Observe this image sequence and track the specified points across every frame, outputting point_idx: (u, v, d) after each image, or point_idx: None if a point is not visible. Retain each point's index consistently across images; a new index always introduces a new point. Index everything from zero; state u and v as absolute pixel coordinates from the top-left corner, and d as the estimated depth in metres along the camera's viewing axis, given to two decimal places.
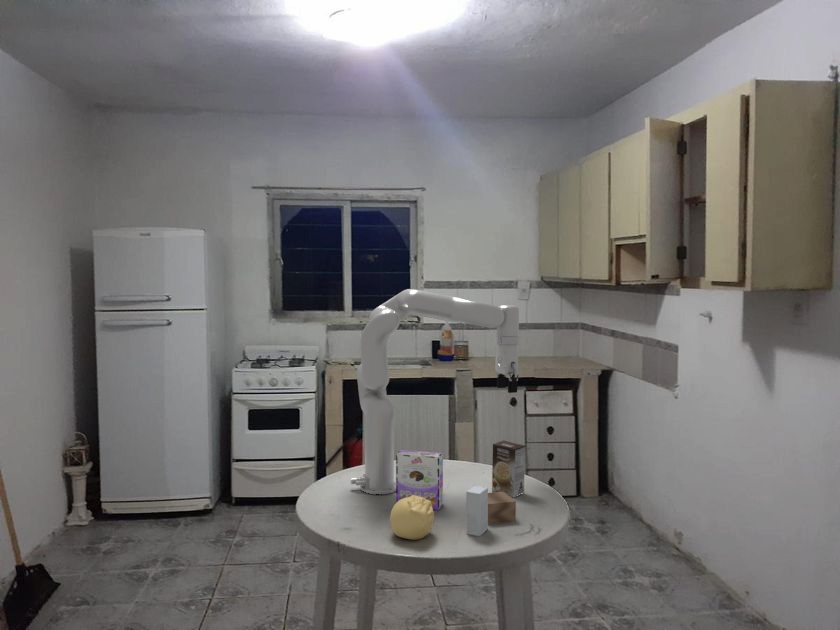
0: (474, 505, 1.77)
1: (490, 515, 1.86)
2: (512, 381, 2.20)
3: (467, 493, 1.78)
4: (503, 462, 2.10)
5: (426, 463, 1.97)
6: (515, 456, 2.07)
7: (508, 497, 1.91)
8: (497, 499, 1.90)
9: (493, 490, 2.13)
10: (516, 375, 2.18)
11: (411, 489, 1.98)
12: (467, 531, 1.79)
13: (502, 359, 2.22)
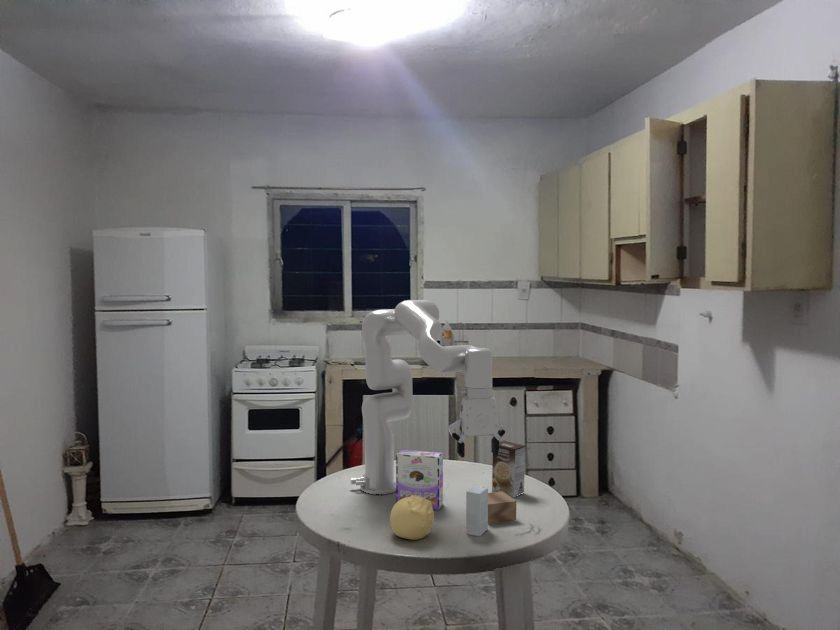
0: (474, 505, 1.77)
1: (491, 515, 1.86)
2: None
3: (467, 493, 1.78)
4: (503, 462, 2.10)
5: (426, 463, 1.97)
6: (515, 456, 2.07)
7: (508, 497, 1.92)
8: (497, 499, 1.90)
9: (493, 490, 2.13)
10: None
11: (411, 489, 1.98)
12: (467, 531, 1.79)
13: (489, 416, 1.76)
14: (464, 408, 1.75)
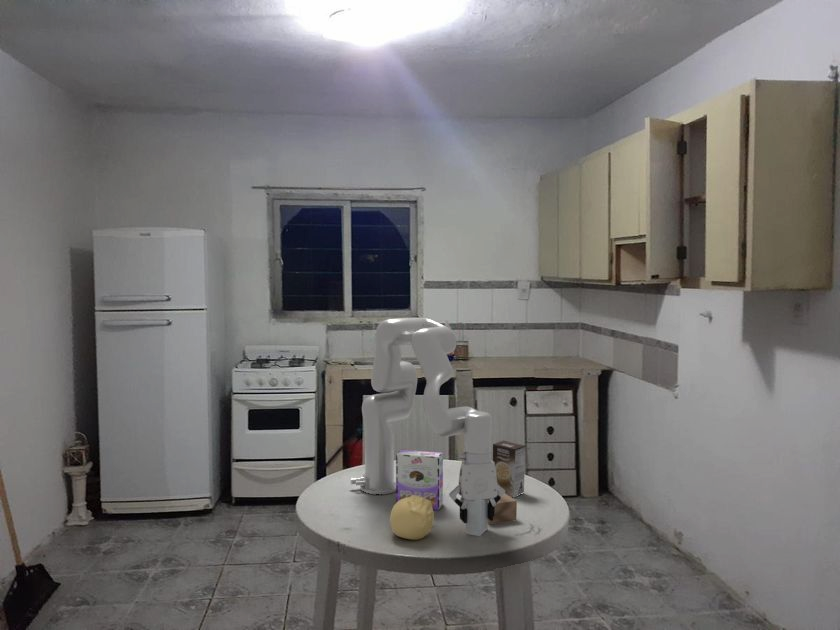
0: (474, 505, 1.77)
1: None
2: None
3: None
4: (503, 462, 2.10)
5: (426, 463, 1.97)
6: (515, 456, 2.07)
7: (508, 496, 1.92)
8: None
9: None
10: None
11: (411, 489, 1.98)
12: (467, 531, 1.79)
13: (488, 481, 1.77)
14: (463, 473, 1.76)
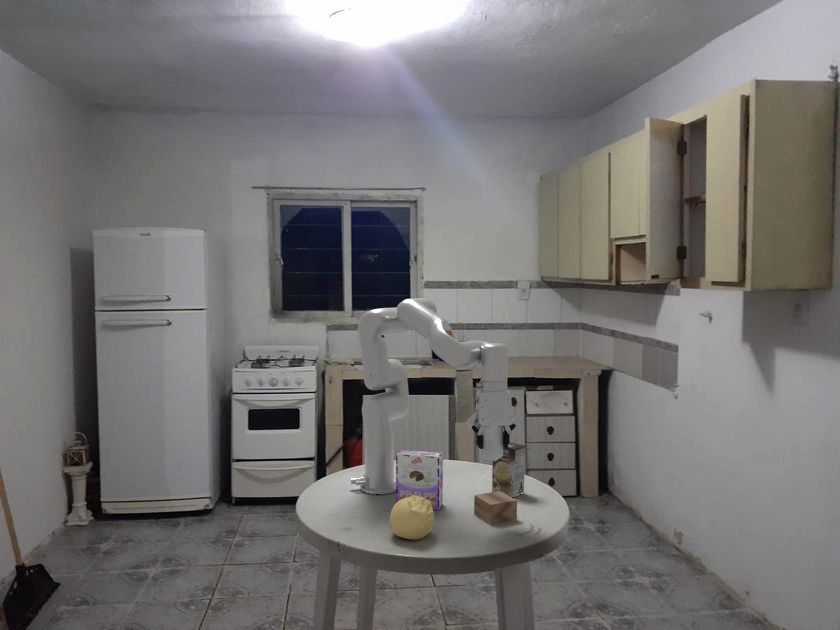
0: (490, 431, 1.85)
1: (493, 515, 1.86)
2: None
3: None
4: (503, 462, 2.10)
5: (426, 463, 1.97)
6: (515, 456, 2.07)
7: (507, 496, 1.92)
8: (498, 499, 1.90)
9: (493, 490, 2.13)
10: None
11: (411, 489, 1.98)
12: (483, 457, 1.87)
13: (504, 408, 1.86)
14: (480, 400, 1.85)
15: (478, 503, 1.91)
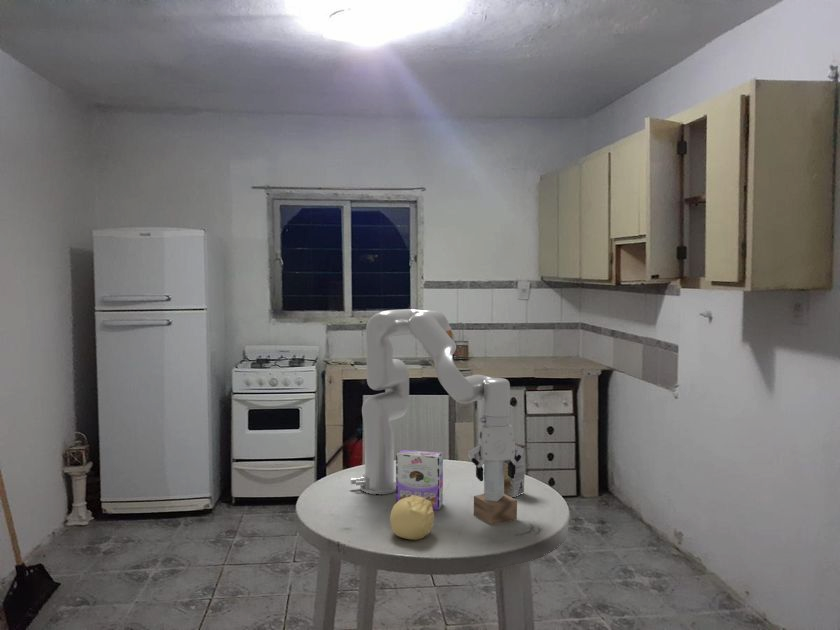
0: (491, 472, 1.88)
1: (494, 515, 1.86)
2: None
3: (485, 461, 1.88)
4: None
5: (426, 463, 1.97)
6: None
7: (507, 496, 1.92)
8: None
9: None
10: None
11: (411, 489, 1.98)
12: (485, 497, 1.89)
13: (507, 443, 1.88)
14: (483, 435, 1.87)
15: (478, 503, 1.91)
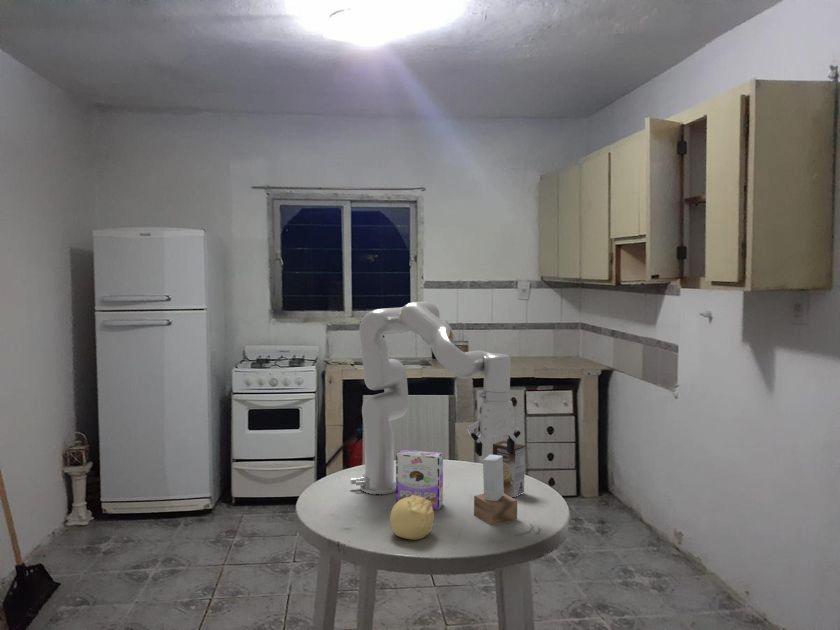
0: (491, 472, 1.88)
1: (494, 515, 1.86)
2: None
3: (484, 461, 1.88)
4: (503, 462, 2.10)
5: (426, 463, 1.97)
6: (515, 456, 2.07)
7: (507, 496, 1.92)
8: None
9: None
10: None
11: (411, 489, 1.98)
12: (485, 497, 1.89)
13: (506, 418, 1.88)
14: (483, 410, 1.87)
15: (478, 503, 1.91)
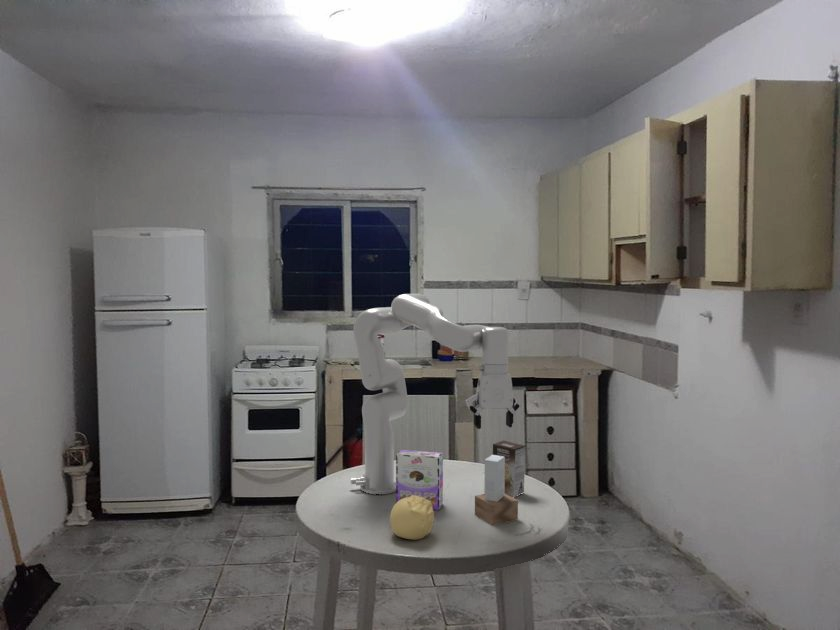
0: (492, 472, 1.87)
1: (495, 515, 1.86)
2: None
3: (485, 461, 1.88)
4: None
5: (426, 463, 1.97)
6: (515, 456, 2.07)
7: (508, 496, 1.92)
8: None
9: None
10: None
11: (411, 489, 1.98)
12: (485, 497, 1.89)
13: (505, 391, 1.88)
14: (481, 383, 1.87)
15: (479, 503, 1.91)
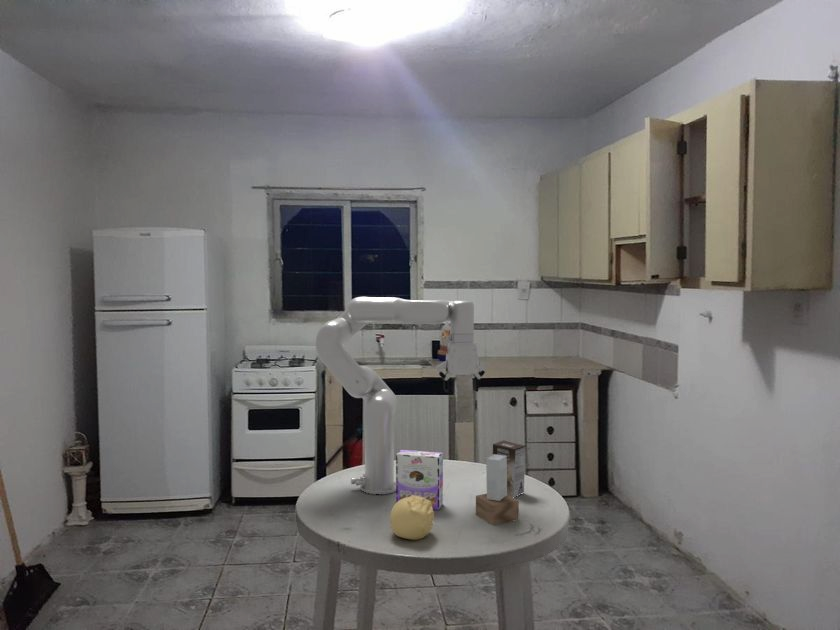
0: (494, 471, 1.88)
1: (495, 515, 1.86)
2: None
3: (487, 460, 1.89)
4: None
5: (426, 463, 1.97)
6: (515, 456, 2.07)
7: (509, 496, 1.92)
8: None
9: None
10: None
11: (411, 489, 1.98)
12: (487, 496, 1.89)
13: (471, 358, 2.08)
14: (449, 351, 2.07)
15: (479, 503, 1.91)
